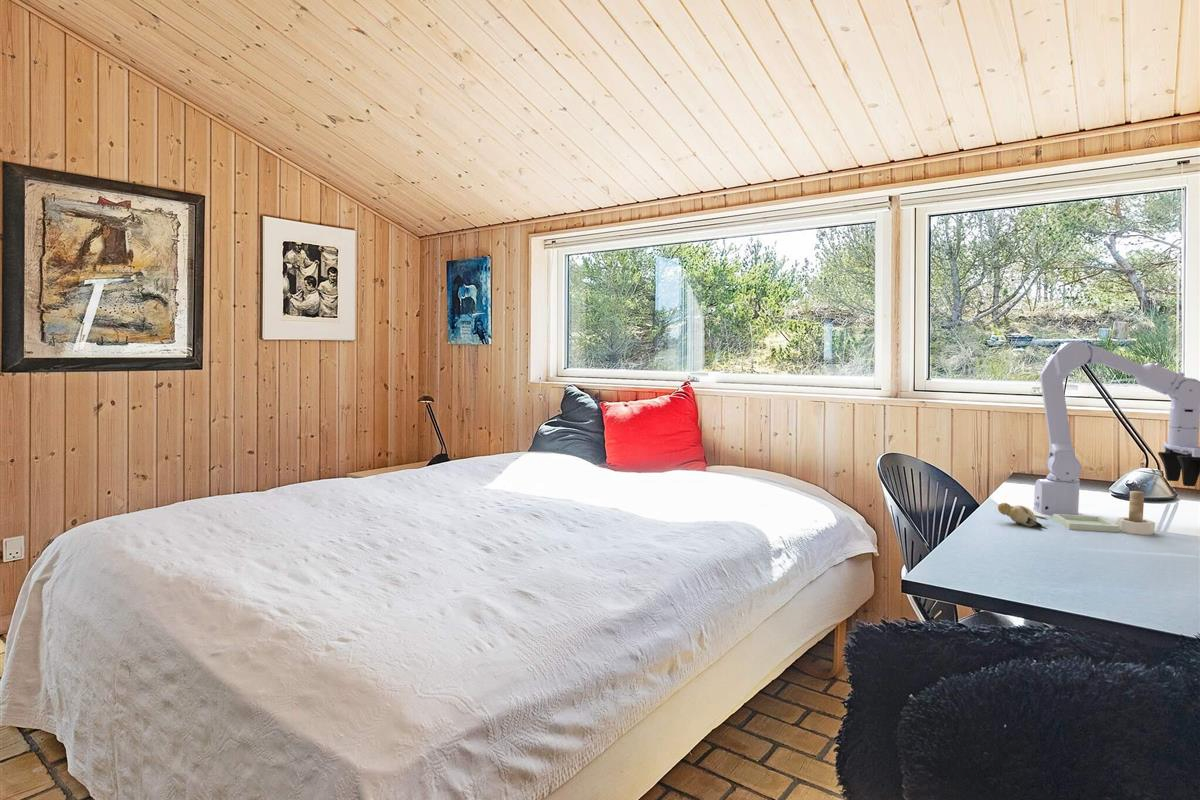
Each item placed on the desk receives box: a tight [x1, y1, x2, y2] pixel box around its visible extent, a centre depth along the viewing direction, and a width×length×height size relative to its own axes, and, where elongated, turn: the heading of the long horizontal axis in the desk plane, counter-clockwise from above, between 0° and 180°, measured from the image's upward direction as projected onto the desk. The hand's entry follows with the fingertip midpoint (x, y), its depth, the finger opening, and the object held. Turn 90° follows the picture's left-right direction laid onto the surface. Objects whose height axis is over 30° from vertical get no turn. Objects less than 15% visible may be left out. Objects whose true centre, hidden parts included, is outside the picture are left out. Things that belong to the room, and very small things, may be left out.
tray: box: [1052, 514, 1120, 533], centre depth 172 cm, size 10×11×2 cm
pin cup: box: [1116, 516, 1156, 536], centre depth 167 cm, size 6×6×3 cm
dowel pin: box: [1128, 490, 1145, 523], centre depth 166 cm, size 3×3×9 cm
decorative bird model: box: [997, 502, 1049, 531], centre depth 173 cm, size 4×13×10 cm
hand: (1180, 483), depth 177 cm, fingers open, 7 cm apart
